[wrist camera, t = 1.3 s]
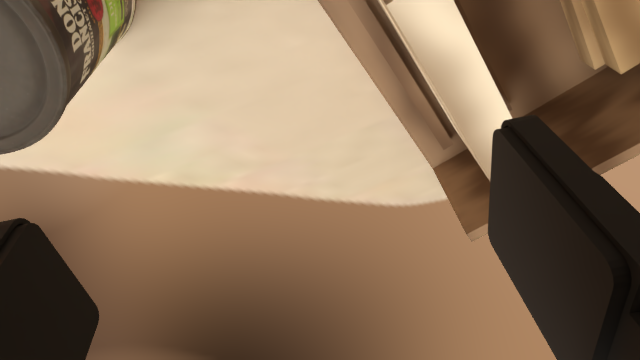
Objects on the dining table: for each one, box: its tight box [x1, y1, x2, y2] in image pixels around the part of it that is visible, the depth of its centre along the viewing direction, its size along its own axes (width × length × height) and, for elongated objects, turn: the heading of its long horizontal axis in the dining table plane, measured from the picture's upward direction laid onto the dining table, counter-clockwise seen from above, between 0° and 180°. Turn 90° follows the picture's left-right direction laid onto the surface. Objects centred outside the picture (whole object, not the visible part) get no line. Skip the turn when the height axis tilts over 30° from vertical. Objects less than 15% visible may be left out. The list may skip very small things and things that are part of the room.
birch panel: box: [377, 0, 512, 181], centre depth 32 cm, size 3×16×10 cm, turn 35°
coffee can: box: [0, 0, 135, 154], centre depth 26 cm, size 10×10×14 cm
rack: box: [318, 0, 640, 241], centre depth 31 cm, size 22×24×10 cm
